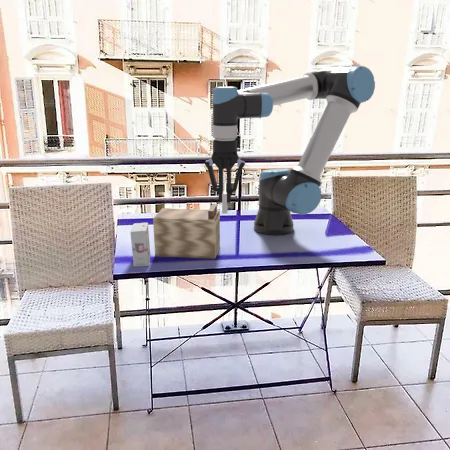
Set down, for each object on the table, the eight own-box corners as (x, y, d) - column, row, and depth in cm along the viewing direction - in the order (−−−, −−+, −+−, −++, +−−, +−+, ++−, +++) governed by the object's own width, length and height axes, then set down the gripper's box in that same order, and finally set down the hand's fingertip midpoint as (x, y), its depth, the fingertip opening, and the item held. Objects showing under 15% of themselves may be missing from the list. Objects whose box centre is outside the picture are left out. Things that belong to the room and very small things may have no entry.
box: (219, 246, 160) (219, 210, 155) (215, 258, 149) (214, 220, 145) (163, 244, 162) (161, 208, 158) (155, 255, 152) (153, 217, 147)
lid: (218, 213, 155) (218, 203, 154) (214, 222, 146) (214, 211, 145) (162, 211, 157) (161, 201, 156) (154, 220, 148) (153, 209, 147)
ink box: (135, 256, 151) (133, 222, 148) (150, 255, 152) (148, 221, 148) (132, 266, 143) (130, 231, 140) (148, 266, 144) (146, 230, 140)
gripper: (247, 137, 145) (245, 209, 152) (206, 136, 146) (206, 208, 154) (245, 141, 138) (243, 216, 145) (202, 140, 139) (203, 214, 147)
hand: (224, 212), depth 149 cm, fingers closed
